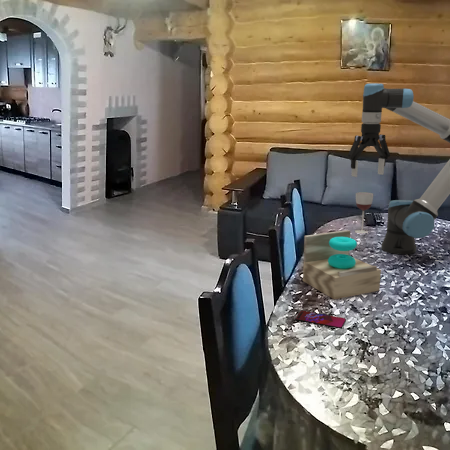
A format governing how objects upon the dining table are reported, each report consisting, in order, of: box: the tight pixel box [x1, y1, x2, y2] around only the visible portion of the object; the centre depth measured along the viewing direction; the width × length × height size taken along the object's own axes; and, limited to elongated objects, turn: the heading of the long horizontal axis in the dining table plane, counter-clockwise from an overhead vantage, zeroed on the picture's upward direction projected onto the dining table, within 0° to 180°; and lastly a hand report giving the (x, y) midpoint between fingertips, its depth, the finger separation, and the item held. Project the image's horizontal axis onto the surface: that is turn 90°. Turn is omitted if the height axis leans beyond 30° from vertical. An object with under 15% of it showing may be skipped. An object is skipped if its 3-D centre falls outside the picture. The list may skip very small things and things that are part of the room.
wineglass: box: [354, 191, 374, 235], centre depth 267 cm, size 8×9×20 cm
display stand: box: [302, 229, 382, 300], centre depth 193 cm, size 20×20×18 cm
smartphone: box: [294, 310, 347, 329], centre depth 167 cm, size 8×1×15 cm
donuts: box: [328, 237, 358, 269], centre depth 192 cm, size 10×10×10 cm
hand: (367, 175), depth 216 cm, fingers open, 13 cm apart
